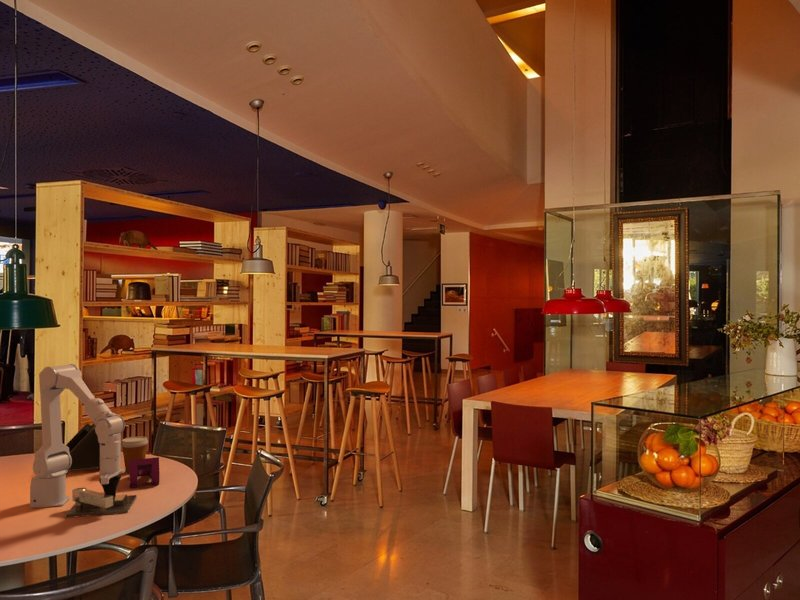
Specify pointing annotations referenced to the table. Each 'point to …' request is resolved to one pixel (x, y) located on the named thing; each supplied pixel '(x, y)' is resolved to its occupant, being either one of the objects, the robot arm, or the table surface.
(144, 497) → the table surface
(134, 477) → the mounting bracket
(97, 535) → the table surface
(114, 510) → the tray
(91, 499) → the beige rectangular bar
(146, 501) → the table surface
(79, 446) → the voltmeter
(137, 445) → the disposable coffee cup
